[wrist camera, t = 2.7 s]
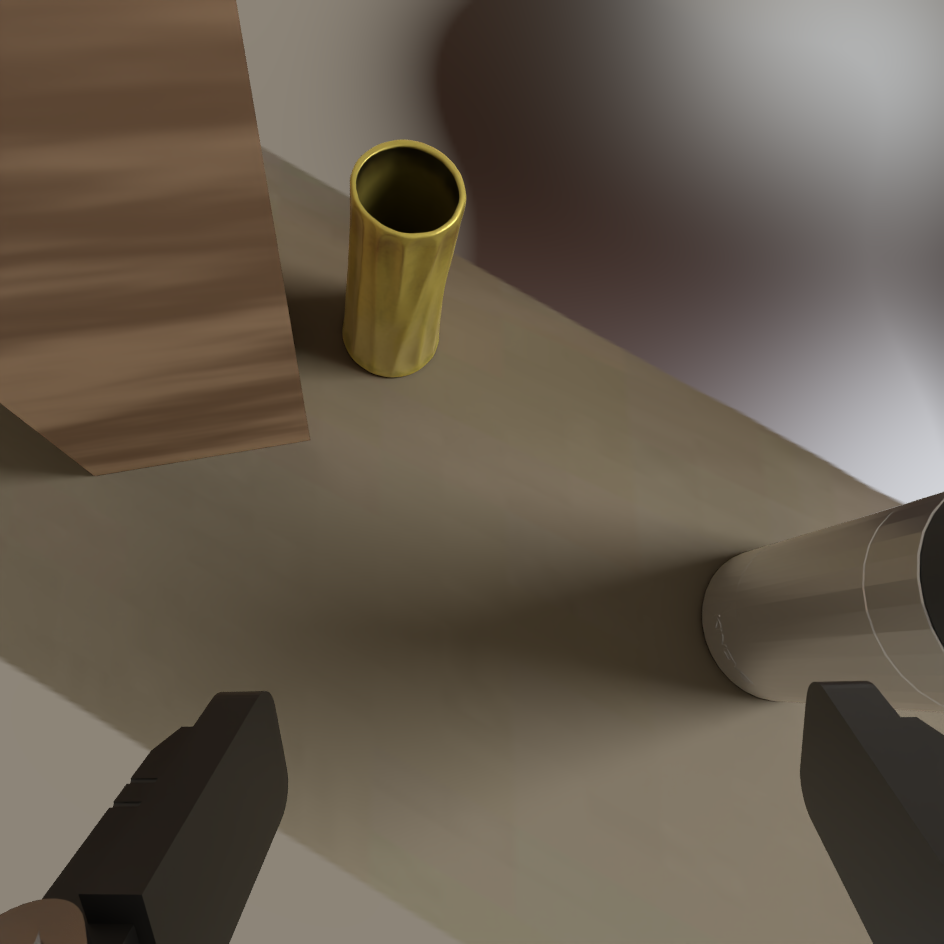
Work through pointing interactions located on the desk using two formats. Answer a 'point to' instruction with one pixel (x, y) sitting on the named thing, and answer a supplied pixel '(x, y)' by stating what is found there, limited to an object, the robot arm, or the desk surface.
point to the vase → (399, 254)
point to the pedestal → (138, 237)
